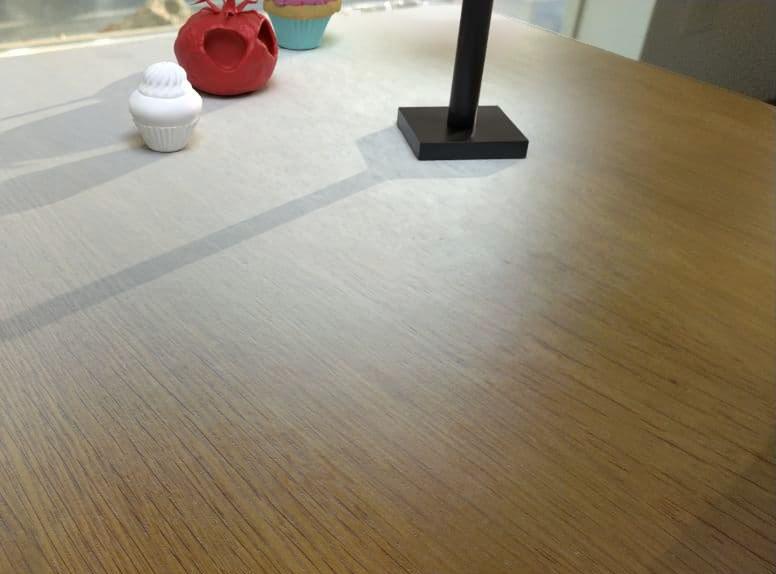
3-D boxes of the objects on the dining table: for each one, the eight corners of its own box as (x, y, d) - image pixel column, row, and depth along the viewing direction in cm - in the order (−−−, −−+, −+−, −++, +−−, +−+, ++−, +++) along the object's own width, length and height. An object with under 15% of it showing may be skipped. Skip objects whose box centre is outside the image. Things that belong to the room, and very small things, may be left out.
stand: (495, 121, 88) (521, -41, 80) (526, 158, 81) (557, -17, 73) (396, 123, 87) (412, -40, 80) (418, 160, 80) (438, -16, 72)
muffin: (218, 144, 83) (218, 60, 79) (166, 164, 79) (163, 76, 75) (167, 127, 86) (164, 46, 82) (115, 146, 82) (109, 61, 78)
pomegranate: (157, 81, 97) (153, -19, 92) (242, 66, 102) (242, -30, 96) (210, 109, 90) (208, 2, 85) (298, 91, 95) (302, -11, 90)
